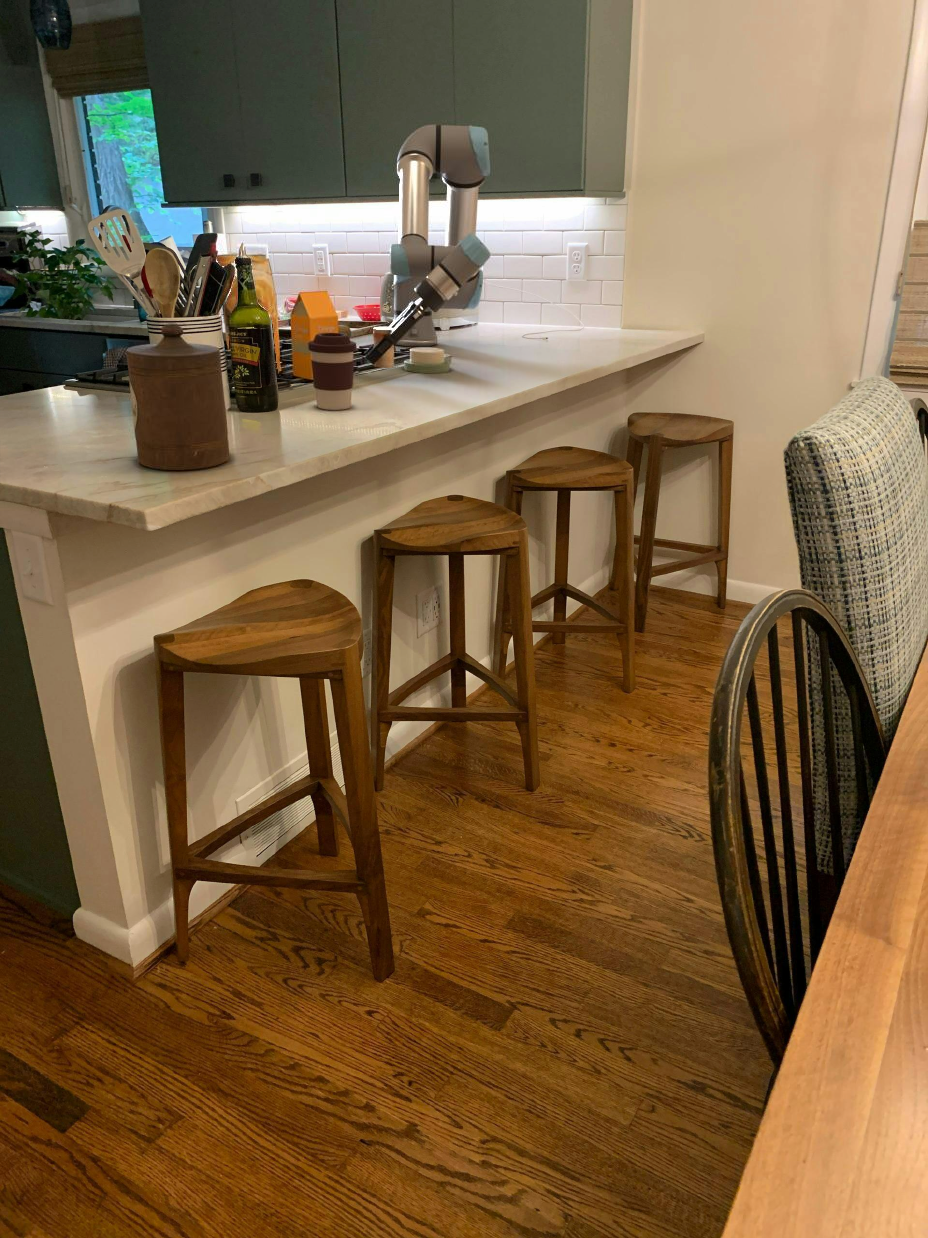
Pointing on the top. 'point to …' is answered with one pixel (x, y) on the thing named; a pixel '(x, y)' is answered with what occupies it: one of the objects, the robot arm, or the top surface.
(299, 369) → the orange juice
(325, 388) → the coffee cup
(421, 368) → the disc stack
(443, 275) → the robot arm
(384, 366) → the cylinder
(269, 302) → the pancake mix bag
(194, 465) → the wooden container
